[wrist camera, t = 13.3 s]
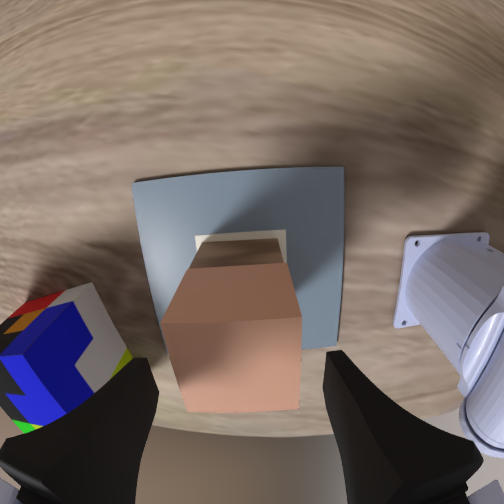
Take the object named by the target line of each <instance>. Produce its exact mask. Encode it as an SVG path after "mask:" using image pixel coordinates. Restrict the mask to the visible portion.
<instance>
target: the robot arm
mask: <svg viewBox="0 0 504 504" xmlns="http://www.w3.org/2000/svg"><path fill="white" fill-rule="evenodd" d="M478 237H479V238H478ZM489 238H490V236H489V234H488V233H486V232H475V233H455V234H436V235H417V236H409V237H407V238H406V240H405V244H404V253H403V262H402V270H401V278H400V284H399V291H398V297H397V303H396V309H395V314H394V319H393V325H394V327H395V328H403V327H409V326H414V325H419V324H421V325H422V326H423V328H424V329H425V330H426V331H427V333H428V334H429V335H430V336H431V338H432V339H433V340H434V341H435V343H436V344H437V345H438V347H439V348H440V349H441V350H442V352H443V353H444V354H445V356H446V357H447V358H448V360H449V361H450V362H451V364H452V365H453V366H454V368H455V369H456V370H457V372H458V373H459V374H460V376H461V378H460V382H459V384H458V386H457V387H458V389H459V390H460V392H461V393H462V395H463V396H464V400H463V401H462V403H461V406H460V410H459V421H460V425H461V428H462V431H463V433H464V435H465V436H466V438H467V439H465V438H462V437H459V436H456V435H453V434H450V433H448V432H445V431H443V430H440V429H438V428H436V427H434V426H432V425H430V424H428V423H426V422H425V421H423V420H421V419H419V418H417V417H416V416H414V415H412V414H411V413H409V412H408V411H406V410H405V409H403V408H402V407H400V406H399V405H398V404H396V403H395V402H394V401H393V400H391V399H390V398H389V397H388V396H387V395H385V394H384V393H383V392H382V391H381V390H380V389H379V388H377V387H376V386H375V385H374V384H373V383H372V382H371V381H370V380H369V379H368V378H367V377H366V376H365V375H364V374H363V373H362V372H361V371H360V370H359V368H358V367H357V366H356V365H355V364H354V363H353V362H352V361H351V360H350V359H349V357H348V356H347V355H346V354H345V353H344V352H343V351H342V350H338V351H330V352H327V353H326V362H325V372H324V380H323V392H324V398H325V404H326V409H327V412H328V416H329V419H330V422H331V425H332V429H333V432H334V435H335V438H336V442H337V445H338V448H339V452H340V455H341V460H342V466H343V472H344V478H345V486H346V493H347V502H348V504H504V493H503V490H502V488H501V486H500V484H499V482H498V480H494V481H493V482H491V483H489V484H488V485H486V486H484V487H483V488H481V489H479V490H477V491H476V492H474V493H473V494H471V495H470V496H468V497H467V496H466V493H465V492H466V491H467V490H468V486H467V484H466V481H467V480H468V479H469V478H470V477H471V476H472V475H473V474H474V473H475V472H476V471H477V470H478V469H479V468H480V467H481V465H482V463H483V457H482V456H481V454H480V452H482V453H484V454H486V455H489V456H492V457H499V458H504V253H502V252H500V251H499V250H497V249H495V248H493V247H492V246H490V245H489ZM477 239H478V240H477ZM416 240H418V243H417V244H416V245H415V242H416ZM403 321H405V322H404V323H402V322H403ZM158 396H159V390H158V388H157V385H156V382H155V380H154V377H153V374H152V372H151V369H150V366H149V363H148V360H147V358H133V359H132V360H130V361H129V362H128V363H127V364H126V365H125V366H124V367H123V368H122V369H121V370H120V371H119V372H117V373H116V374H115V375H114V376H113V377H112V378H111V379H110V380H109V381H108V382H107V383H106V384H104V385H103V386H102V387H101V388H100V389H99V390H98V391H96V392H95V393H94V394H93V395H92V396H90V397H89V398H88V399H87V400H85V401H84V402H83V403H82V404H80V405H79V406H77V407H76V408H74V409H73V410H71V411H70V412H68V413H67V414H65V415H64V416H62V417H60V418H58V419H56V420H54V421H53V422H51V423H49V424H47V425H45V426H43V427H40V428H38V429H35V430H33V431H30V432H28V433H25V434H21V435H18V436H15V437H11V438H7V439H6V440H5V442H4V444H3V445H2V447H1V449H0V467H1V468H2V469H3V470H4V471H5V472H6V473H7V474H8V475H9V476H10V477H11V478H13V479H14V480H15V481H16V482H17V483H18V484H19V485H21V488H20V490H18V489H17V488H15V487H13V486H12V485H11V484H9V483H7V482H6V481H4V480H3V479H1V478H0V504H135V496H136V487H137V479H138V473H139V466H140V461H141V457H142V453H143V450H144V447H145V444H146V441H147V438H148V434H149V431H150V428H151V425H152V422H153V419H154V416H155V413H156V408H157V403H158Z"/></svg>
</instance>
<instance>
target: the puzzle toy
mask: <svg viewBox="0 0 504 504" xmlns="http://www.w3.org/2000/svg"><path fill="white" fill-rule="evenodd" d="M132 359H133V357H132V355H131V354H130V352H129V350H128V348H127V347H126V345H125V343H124V342H123V340H122V338H121V336H120V335H119V333H118V331H117V329H116V327H115V326H114V324H113V322H112V320H111V318H110V316H109V315H108V313H107V311H106V309H105V307H104V305H103V303H102V301H101V299H100V297H99V295H98V293H97V291H96V289H95V287H94V284H93V282H90V283H87V284H84V285H81V286H77V287H74V288H71V289H67V290H64V291H61V292H58V293H54V294H51V295H48V296H45V297H42V298H38V299H35V300H32V301H29V302H26V303H24V304H23V305H22V306H21V307H20V308H19V309H17V310H16V311H15V312H14V313H13V314H12V315H11V316H10V317H8V318H7V319H6V320H5V321H4V322H3V323H2V324H1V325H0V406H1V408H2V409H3V410H4V411H5V412H6V413H7V415H8V416H9V417H10V418H11V419H12V420H13V422H14V423H15V424H16V425H17V426H18V427H19V428H20V429H21V430H22V431H23V433H24V434H25V433H28V432H30V431H33V430H35V429H38V428H40V427H43V426H45V425H47V424H49V423H51V422H53V421H54V420H56V419H58V418H60V417H62V416H64V415H65V414H67V413H68V412H70V411H71V410H73V409H74V408H76V407H77V406H79V405H80V404H82V403H83V402H84V401H85V400H87V399H88V398H89V397H90V396H92V395H93V394H94V393H95V392H96V391H98V390H99V389H100V388H101V387H102V386H103V385H104V384H106V383H107V382H108V381H109V380H110V379H111V378H112V377H113V376H114V375H115V374H116V373H117V372H119V371H120V370H121V369H122V368H123V367H124V366H125V365H126V364H127V363H128V362H129V361H130V360H132Z"/></svg>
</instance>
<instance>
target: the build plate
mask: <svg viewBox="0 0 504 504" xmlns="http://www.w3.org/2000/svg"><path fill="white" fill-rule="evenodd" d="M131 184H132V192H133V199H134V206H135V212H136V219H137V225H138V231H139V236H140V242H141V247H142V253H143V258H144V263H145V268H146V272H147V277H148V282H149V286H150V290H151V295H152V299H153V303H154V307H155V311H156V315H157V319H158V323H159V327H160V330H161V334H162V338H163V341H164V345H165V348H166V352H167V354H169V353H168V350H167V347H166V343H165V339H164V336H163V332H162V329H161V325H160V322H161V320H162V318H163V316H164V314H165V312H166V310H167V308H168V306H169V304H170V302H171V300H172V298H173V296H174V294H175V292H176V290H177V288H178V286H179V284H180V282H181V280H182V278H183V276H184V274H185V272H186V270H187V269H189V267H190V265H191V263H192V261H193V259H194V257H195V255H196V253H197V251H198V249H199V247H200V245H201V243H202V242H216V241H234V240H252V239H271V238H278V242H279V246H280V249H281V253H282V257H283V261H284V263H287V265H288V268H289V272H290V275H291V279H292V282H293V286H294V289H295V293H296V297H297V300H298V304H299V307H300V311H301V315H302V344H301V350H302V349H312V348H322V347H330V346H336V343H337V334H338V324H339V313H340V301H341V287H342V271H343V249H344V167H343V166H325V167H289V168H269V169H252V170H238V171H226V172H215V173H205V174H195V175H186V176H178V177H170V178H162V179H154V180H147V181H140V182H134V183H131Z"/></svg>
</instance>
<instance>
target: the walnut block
mask: <svg viewBox="0 0 504 504" xmlns="http://www.w3.org/2000/svg"><path fill="white" fill-rule="evenodd" d="M272 263H284V261H283V257H282V253H281V249H280V246H279V242H278V238H271V239H252V240H234V241H216V242H202V243H201V245H200V247H199V249H198V251H197V253H196V255H195V257H194V259H193V261H192V263H191V265H190V267H189V269H193V268H210V267H226V266H242V265H257V264H272Z"/></svg>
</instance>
